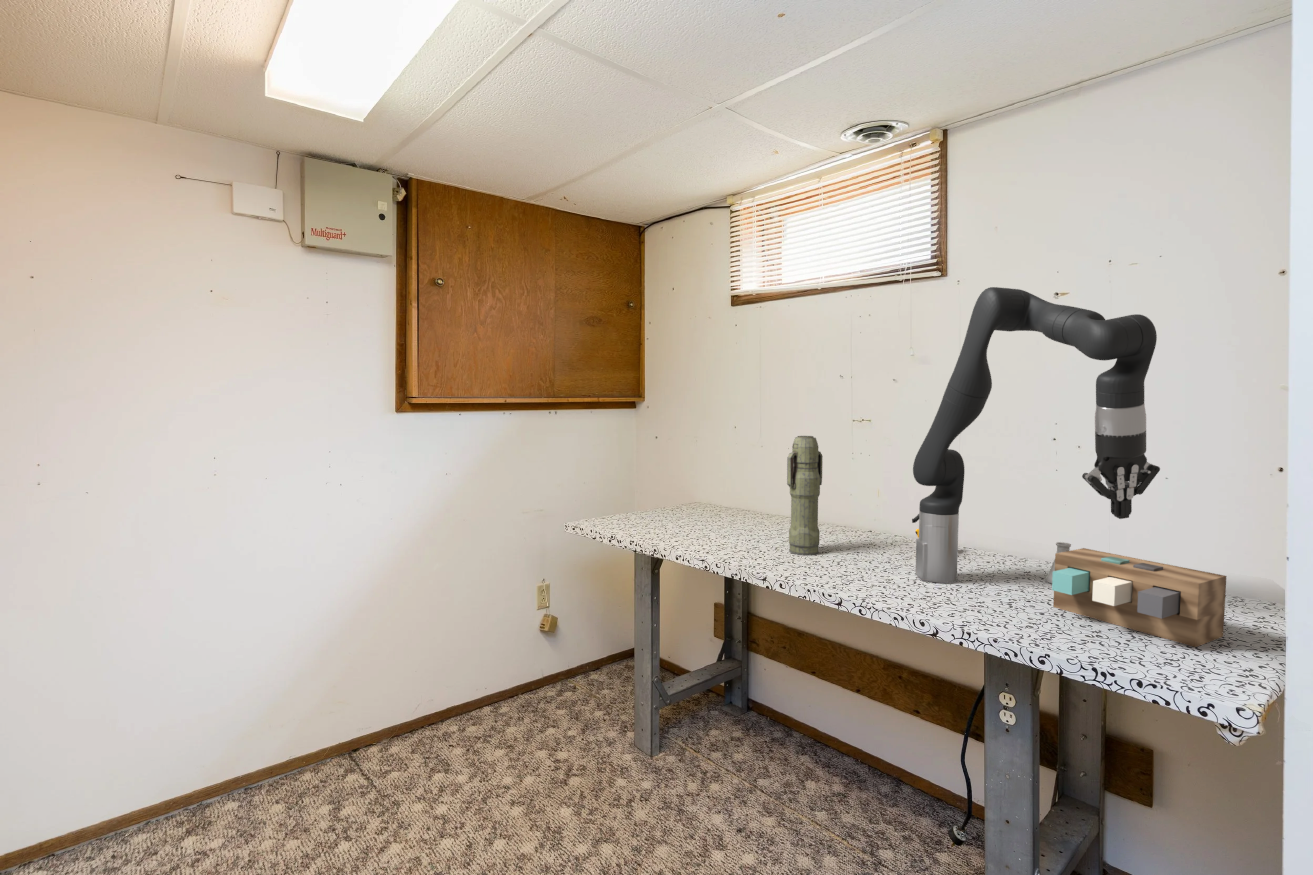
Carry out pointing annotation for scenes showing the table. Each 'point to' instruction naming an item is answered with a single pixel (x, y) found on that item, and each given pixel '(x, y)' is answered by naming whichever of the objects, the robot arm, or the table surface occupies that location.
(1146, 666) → the table surface
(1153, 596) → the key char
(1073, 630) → the table surface
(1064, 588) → the key teal
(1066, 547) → the flask
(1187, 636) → the block
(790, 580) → the table surface
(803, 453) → the thermos
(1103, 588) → the key ivory
